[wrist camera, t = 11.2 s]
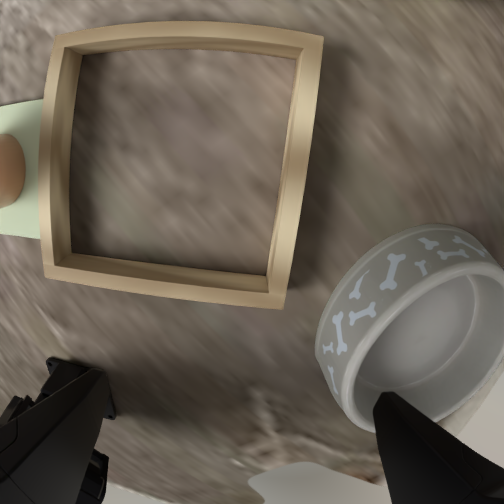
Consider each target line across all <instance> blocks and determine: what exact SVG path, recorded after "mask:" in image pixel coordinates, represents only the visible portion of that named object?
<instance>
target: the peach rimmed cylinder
mask: <svg viewBox="0 0 504 504" xmlns="http://www.w3.org/2000/svg"><path fill="white" fill-rule="evenodd" d="M25 173H26V164H25V157H24V153H23V150H22V147H21V145H20V143H19V142H18V141H17V139H16V138H15V137H13V136H12V135H10V134H0V209H1V208H4V207H7V206H9V205H11V204H12V203H14V202H15V201H16V200H17V198H18V197H19V195H20V193H21V191H22V188H23V185H24V181H25Z"/></svg>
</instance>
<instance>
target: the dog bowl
mask: <svg viewBox="0 0 504 504" xmlns="http://www.w3.org/2000/svg"><path fill="white" fill-rule="evenodd" d="M315 356H316V359H317V361H318V363H319V365H320V367H321V369H322V372H323V374H324V377H325V379H326V382H327V384H328V386H329V389H330V391H331V393H332V395H333V397H334V399H335V400H336V402H337V403H338V404H339V406H340V407H341V408H342V409H343V411H344V412H345V414H346V415H347V417H348V418H349V419H350V420H351V421H352V422H353V423H354V424H355V425H357V426H358V427H360V428H362V429H364V430H366V431H370V432H373V433H376V431H375V425H374V419H373V407H374V405H375V404H376V402H377V400H378V398H379V396H380V394H381V393H382V392H384V391H394V392H395V393H397V394H398V395H399V396H401V397H402V398H403V399H405V400H406V401H407V402H408V403H410V404H411V405H412V406H414V407H415V408H416V409H418V410H419V411H420V412H422V413H423V414H424V415H426V416H427V417H428V418H430V419H431V420H433V421H434V422H437V421H439V420H441V419H443V418H444V417H446V416H448V415H449V414H451V413H453V412H454V411H456V410H457V409H458V408H460V407H461V406H462V405H464V404H465V403H466V402H467V401H469V400H470V399H471V398H472V397H473V396H474V395H475V394H476V393H477V392H478V391H479V390H480V389H481V388H482V387H483V386H484V385H485V383H486V382H487V381H488V380H489V379H490V377H491V376H492V375H493V373H494V372H495V370H496V369H497V367H498V366H499V364H500V363H501V361H502V359H503V357H504V270H503V269H502V267H501V266H500V265H499V264H498V263H497V262H496V261H495V260H494V258H493V257H492V256H491V255H490V253H489V252H488V251H487V250H486V249H485V247H484V246H483V245H482V244H481V243H480V242H479V241H478V240H477V239H476V238H475V237H474V236H473V235H471V234H470V233H468V232H466V231H465V230H462V229H460V228H457V227H454V226H450V225H445V224H425V225H419V226H415V227H411V228H408V229H405V230H403V231H400V232H398V233H396V234H394V235H392V236H390V237H388V238H386V239H385V240H383V241H381V242H380V243H378V244H377V245H376V246H374V247H373V248H372V249H370V250H369V251H368V252H367V253H365V254H364V255H363V256H362V257H361V258H360V259H359V260H358V261H357V262H356V263H355V264H354V265H353V266H352V267H351V268H350V269H349V270H348V272H347V273H346V274H345V275H344V277H343V278H342V279H341V281H340V282H339V284H338V285H337V286H336V288H335V290H334V291H333V293H332V295H331V297H330V298H329V300H328V302H327V304H326V306H325V309H324V311H323V313H322V316H321V319H320V322H319V325H318V329H317V334H316V340H315Z"/></svg>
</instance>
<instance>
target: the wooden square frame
mask: <svg viewBox="0 0 504 504" xmlns="http://www.w3.org/2000/svg"><path fill="white" fill-rule="evenodd" d="M323 40H324V37H323V36H319V35H314V34H309V33H304V32H299V31H293V30H287V29H281V28H275V27H267V26H260V25H251V24H241V23H228V22H210V21H161V22H143V23H131V24H121V25H113V26H105V27H98V28H92V29H86V30H80V31H75V32H70V33H65V34H61V35H56V36H55V40H54V44H53V48H52V53H51V58H50V63H49V68H48V73H47V79H46V85H45V91H44V98H43V106H42V115H41V125H40V138H39V156H38V207H39V226H40V239H41V249H42V258H43V266H44V274H45V278H51V279H56V280H61V281H67V282H72V283H78V284H84V285H89V286H95V287H101V288H108V289H114V290H120V291H127V292H134V293H140V294H147V295H155V296H162V297H169V298H177V299H185V300H193V301H202V302H210V303H219V304H229V305H238V306H248V307H259V308H270V309H282V310H283V306H284V301H285V296H286V291H287V285H288V280H289V275H290V269H291V264H292V258H293V253H294V247H295V241H296V236H297V230H298V224H299V218H300V212H301V206H302V200H303V193H304V187H305V180H306V174H307V167H308V161H309V154H310V147H311V140H312V132H313V125H314V118H315V110H316V102H317V94H318V86H319V77H320V68H321V59H322V50H323ZM147 49H201V50H220V51H233V52H243V53H253V54H261V55H268V56H275V57H282V58H288V59H294V60H296V67H295V75H294V83H293V91H292V98H291V106H290V114H289V121H288V129H287V136H286V143H285V151H284V158H283V165H282V172H281V179H280V186H279V193H278V200H277V207H276V214H275V221H274V227H273V234H272V241H271V247H270V254H269V260H268V267H267V273H266V276H260V275H251V274H241V273H232V272H223V271H214V270H205V269H196V268H187V267H179V266H170V265H162V264H154V263H146V262H138V261H130V260H122V259H114V258H106V257H99V256H91V255H84V254H77V253H72V252H71V237H70V214H69V173H70V150H71V136H72V124H73V115H74V106H75V98H76V91H77V85H78V78H79V73H80V67H81V62H82V57H83V55H89V54H97V53H106V52H116V51H129V50H147Z"/></svg>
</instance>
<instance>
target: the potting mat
mask: <svg viewBox="0 0 504 504" xmlns="http://www.w3.org/2000/svg"><path fill="white" fill-rule="evenodd" d="M42 106H43V99H40V100H34V101H27V102H22V103H16V104H11V105H6V106H1V107H0V134H10V135H12V136H13V137H15V138H16V139H17V141H18V142H19V143H20V145H21V147H22V150H23V153H24V157H25V164H26V173H25V181H24V185H23V188H22V191H21V193H20V195H19V197H18V198H17V200H16V201H15V202H14V203H12V204H11V205H9V206H7V207H4V208H1V209H0V234H7V235H14V236H22V237H30V238H37V239H40V226H39V207H38V156H39V138H40V125H41V115H42Z"/></svg>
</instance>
